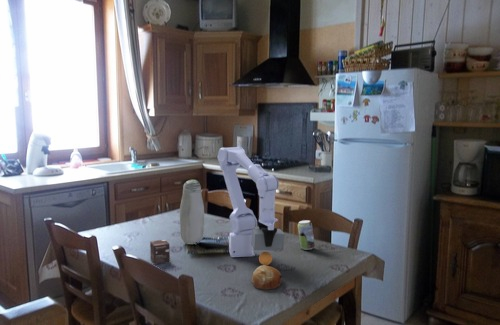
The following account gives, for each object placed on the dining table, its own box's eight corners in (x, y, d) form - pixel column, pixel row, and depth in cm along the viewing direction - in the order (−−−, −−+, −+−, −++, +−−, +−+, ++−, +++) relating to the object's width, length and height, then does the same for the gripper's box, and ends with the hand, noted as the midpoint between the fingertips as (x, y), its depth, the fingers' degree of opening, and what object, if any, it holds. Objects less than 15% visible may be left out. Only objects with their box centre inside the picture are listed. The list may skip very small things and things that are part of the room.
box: (154, 264, 152) (153, 246, 151) (150, 259, 158) (149, 241, 157) (170, 262, 155) (169, 243, 154) (165, 257, 160) (165, 239, 159)
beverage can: (314, 251, 168) (315, 223, 166) (296, 250, 170) (297, 222, 168) (314, 246, 174) (315, 219, 173) (297, 245, 176) (298, 218, 174)
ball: (271, 252, 151) (275, 264, 152) (268, 247, 155) (272, 259, 156) (258, 257, 150) (262, 269, 151) (255, 252, 155) (260, 264, 156)
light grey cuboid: (254, 250, 149) (255, 234, 148) (251, 244, 155) (251, 229, 154) (283, 249, 151) (284, 234, 150) (279, 244, 157) (280, 229, 156)
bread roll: (255, 287, 143) (245, 268, 141) (281, 274, 143) (272, 255, 142) (258, 300, 133) (248, 279, 132) (286, 287, 133) (276, 266, 132)
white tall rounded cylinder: (202, 247, 171) (202, 182, 168) (178, 247, 171) (177, 182, 168) (205, 240, 181) (205, 178, 177) (182, 239, 181) (181, 178, 177)
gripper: (282, 212, 144) (281, 249, 146) (273, 203, 158) (272, 236, 160) (263, 213, 143) (262, 250, 145) (255, 203, 157) (254, 237, 159)
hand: (266, 243), depth 152 cm, fingers closed on light grey cuboid, 6 cm apart
